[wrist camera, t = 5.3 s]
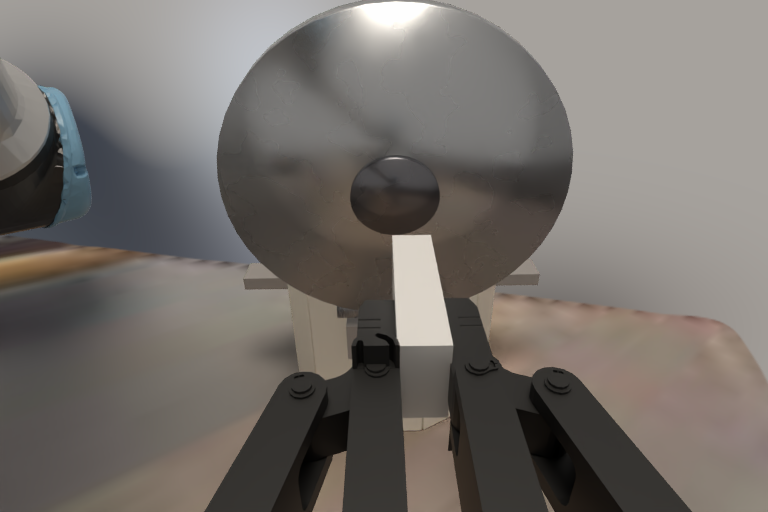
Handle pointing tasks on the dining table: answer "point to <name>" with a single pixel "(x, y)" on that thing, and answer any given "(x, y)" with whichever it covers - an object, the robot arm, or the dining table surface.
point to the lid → (393, 150)
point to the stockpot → (354, 326)
